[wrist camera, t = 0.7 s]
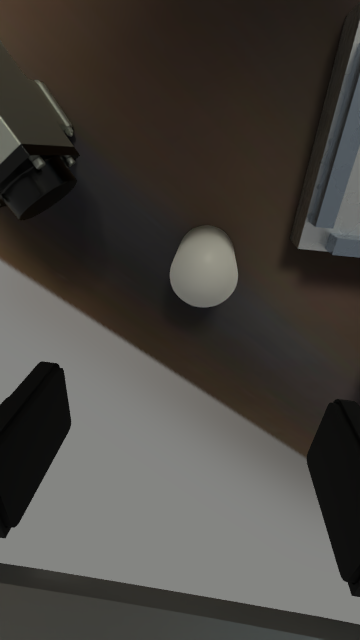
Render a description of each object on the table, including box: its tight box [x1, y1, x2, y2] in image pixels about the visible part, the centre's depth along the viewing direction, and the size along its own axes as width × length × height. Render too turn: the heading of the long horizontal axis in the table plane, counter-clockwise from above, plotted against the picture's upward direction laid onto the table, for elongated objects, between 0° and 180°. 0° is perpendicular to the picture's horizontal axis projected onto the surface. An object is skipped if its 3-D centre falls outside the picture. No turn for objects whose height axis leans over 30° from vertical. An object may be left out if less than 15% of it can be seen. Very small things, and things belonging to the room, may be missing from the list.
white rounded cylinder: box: [170, 225, 238, 308], centre depth 25 cm, size 7×5×6 cm
